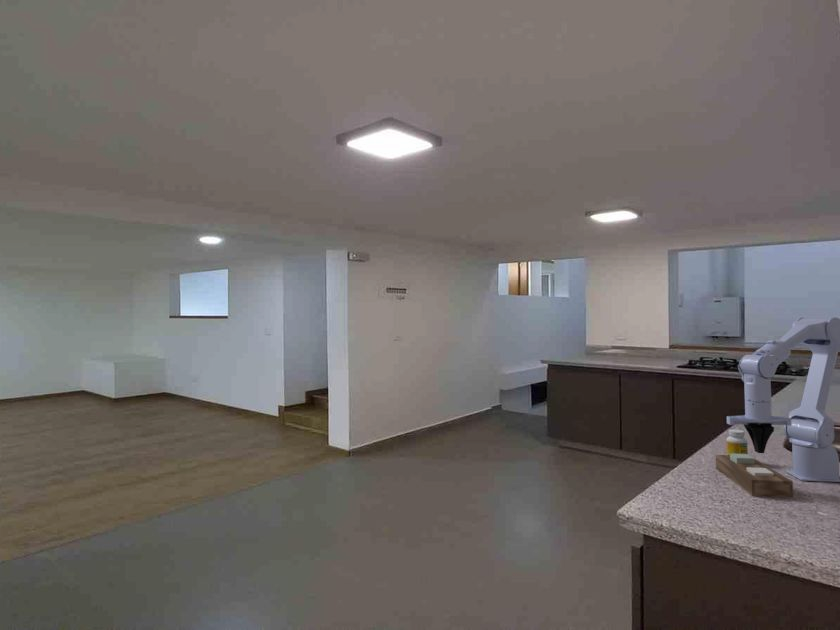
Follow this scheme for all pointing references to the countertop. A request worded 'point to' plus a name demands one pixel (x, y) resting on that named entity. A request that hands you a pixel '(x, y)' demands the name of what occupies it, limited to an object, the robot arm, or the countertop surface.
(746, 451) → the supplement bottle
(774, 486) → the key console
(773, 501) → the countertop surface
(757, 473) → the off white key
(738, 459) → the sage key
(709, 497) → the countertop surface
